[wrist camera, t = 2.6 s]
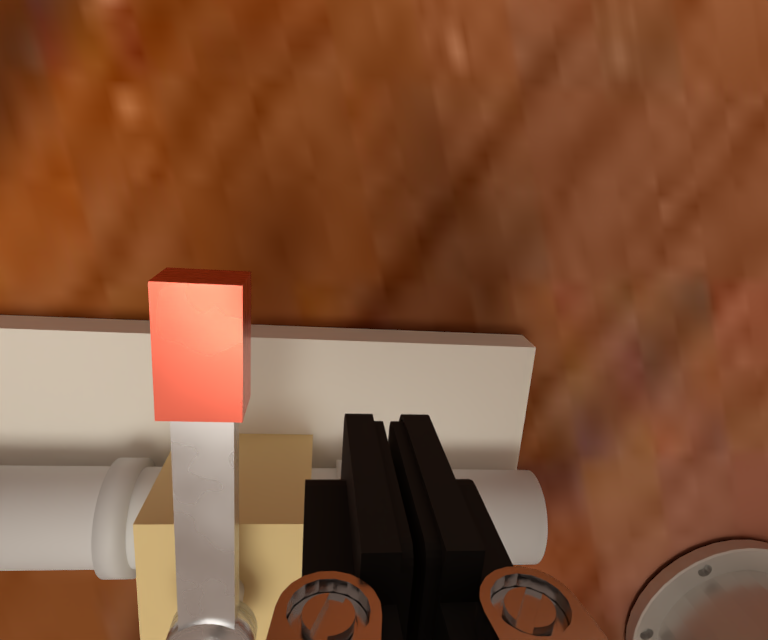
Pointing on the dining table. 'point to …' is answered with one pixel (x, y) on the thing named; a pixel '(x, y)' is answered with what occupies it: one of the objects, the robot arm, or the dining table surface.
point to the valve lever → (204, 438)
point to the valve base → (287, 389)
